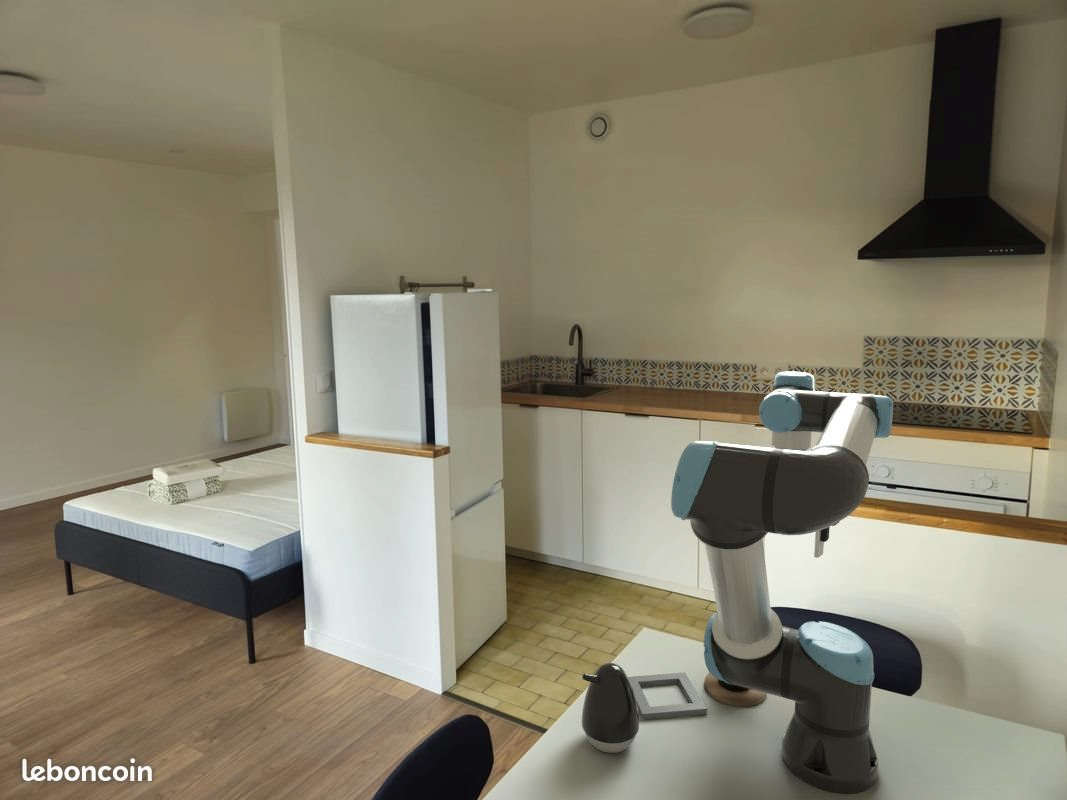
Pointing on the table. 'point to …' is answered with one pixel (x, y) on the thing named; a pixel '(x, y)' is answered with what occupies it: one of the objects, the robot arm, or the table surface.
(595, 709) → the pump dispenser
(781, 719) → the table surface
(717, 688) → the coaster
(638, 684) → the grey flat square frame
